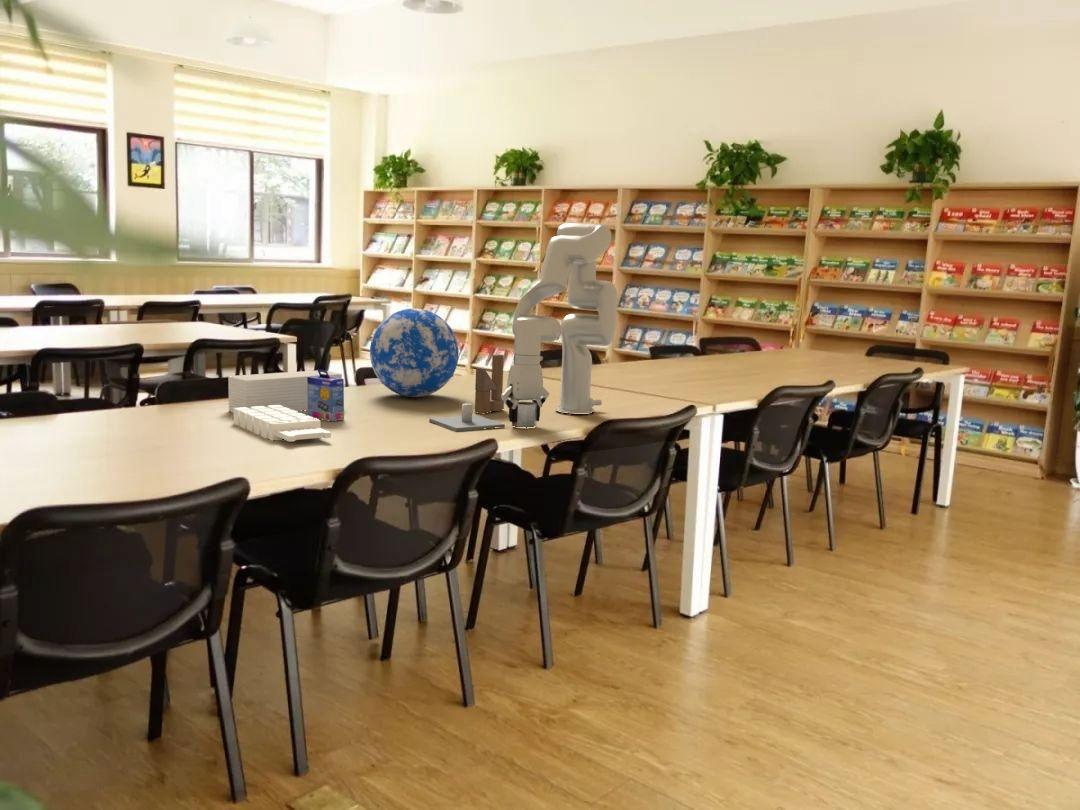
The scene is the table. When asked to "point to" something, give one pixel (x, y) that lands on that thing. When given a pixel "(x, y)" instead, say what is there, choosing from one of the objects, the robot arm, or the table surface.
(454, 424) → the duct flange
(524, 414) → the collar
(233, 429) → the table surface
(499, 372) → the wooden block
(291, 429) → the organizer
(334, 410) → the ink cartridge box
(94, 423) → the table surface
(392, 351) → the decorative globe
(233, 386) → the stack of papers
